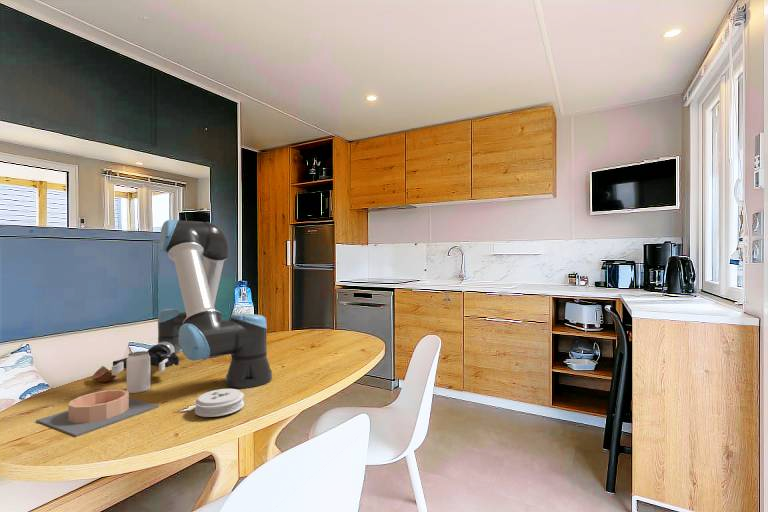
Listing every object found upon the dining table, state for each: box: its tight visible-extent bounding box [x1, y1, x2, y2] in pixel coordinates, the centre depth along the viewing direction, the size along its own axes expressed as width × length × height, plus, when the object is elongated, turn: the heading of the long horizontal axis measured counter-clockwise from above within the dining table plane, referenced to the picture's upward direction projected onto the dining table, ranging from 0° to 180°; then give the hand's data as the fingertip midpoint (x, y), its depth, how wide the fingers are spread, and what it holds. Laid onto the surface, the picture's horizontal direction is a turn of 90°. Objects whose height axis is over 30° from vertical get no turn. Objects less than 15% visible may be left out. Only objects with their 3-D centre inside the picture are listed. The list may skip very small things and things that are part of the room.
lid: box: [194, 388, 245, 418], centre depth 104 cm, size 13×13×5 cm
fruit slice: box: [91, 365, 117, 383], centre depth 130 cm, size 8×7×5 cm
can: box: [126, 350, 151, 394], centre depth 121 cm, size 6×6×12 cm
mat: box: [35, 397, 160, 437], centre depth 103 cm, size 20×20×1 cm
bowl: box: [67, 389, 130, 423], centre depth 103 cm, size 13×13×4 cm
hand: (136, 369), depth 121 cm, fingers open, 13 cm apart
